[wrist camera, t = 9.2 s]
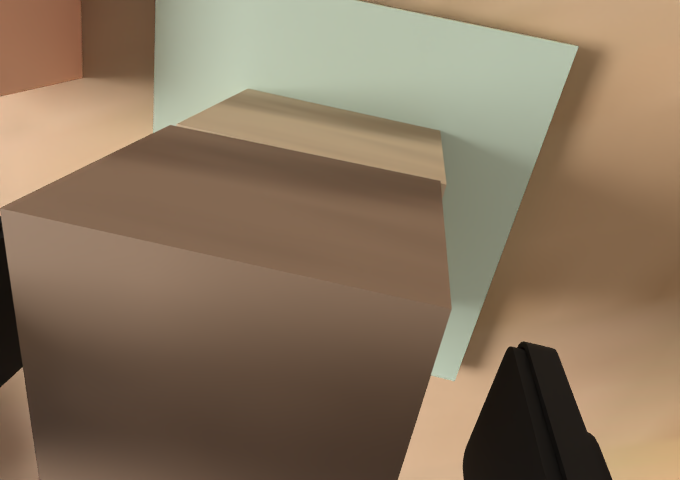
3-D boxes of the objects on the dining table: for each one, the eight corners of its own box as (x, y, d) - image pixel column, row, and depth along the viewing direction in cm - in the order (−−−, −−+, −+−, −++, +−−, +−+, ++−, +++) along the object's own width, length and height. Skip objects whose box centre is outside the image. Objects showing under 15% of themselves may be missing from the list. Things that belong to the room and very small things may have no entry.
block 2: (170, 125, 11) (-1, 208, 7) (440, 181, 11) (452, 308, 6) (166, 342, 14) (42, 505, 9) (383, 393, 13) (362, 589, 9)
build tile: (171, -39, 15) (156, -41, 14) (569, 43, 15) (578, 46, 14) (162, 293, 21) (150, 306, 20) (453, 364, 20) (454, 381, 19)
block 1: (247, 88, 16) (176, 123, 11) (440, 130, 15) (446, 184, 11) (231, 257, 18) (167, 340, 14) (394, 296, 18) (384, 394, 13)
